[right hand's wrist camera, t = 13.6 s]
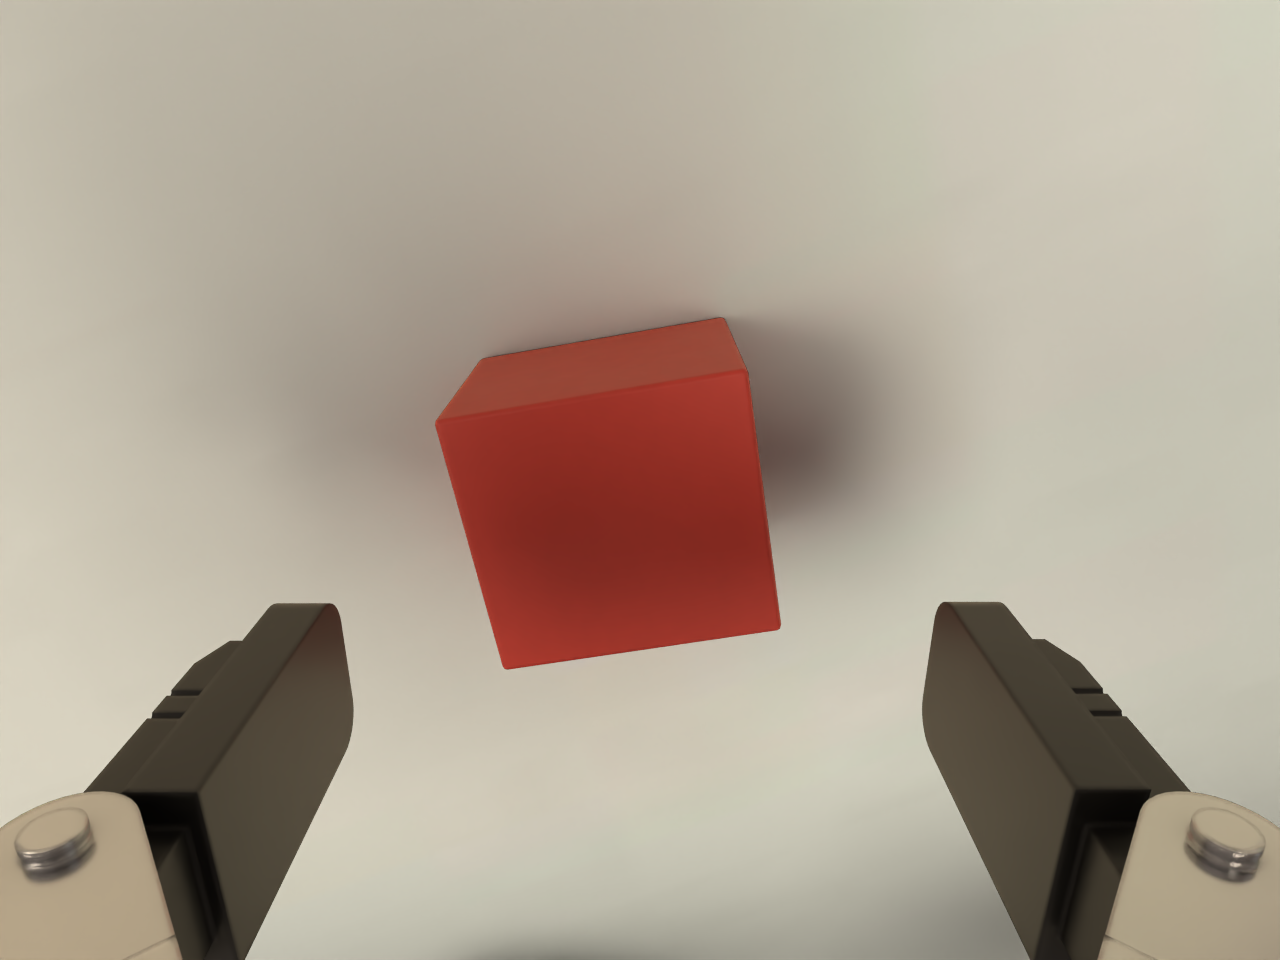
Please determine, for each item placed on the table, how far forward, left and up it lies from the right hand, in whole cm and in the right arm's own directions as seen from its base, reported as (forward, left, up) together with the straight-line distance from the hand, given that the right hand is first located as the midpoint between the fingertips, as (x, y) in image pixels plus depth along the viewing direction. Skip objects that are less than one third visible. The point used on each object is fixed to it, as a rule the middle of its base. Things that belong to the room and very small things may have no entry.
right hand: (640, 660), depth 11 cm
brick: (-1, 0, -8) cm, 8 cm away
